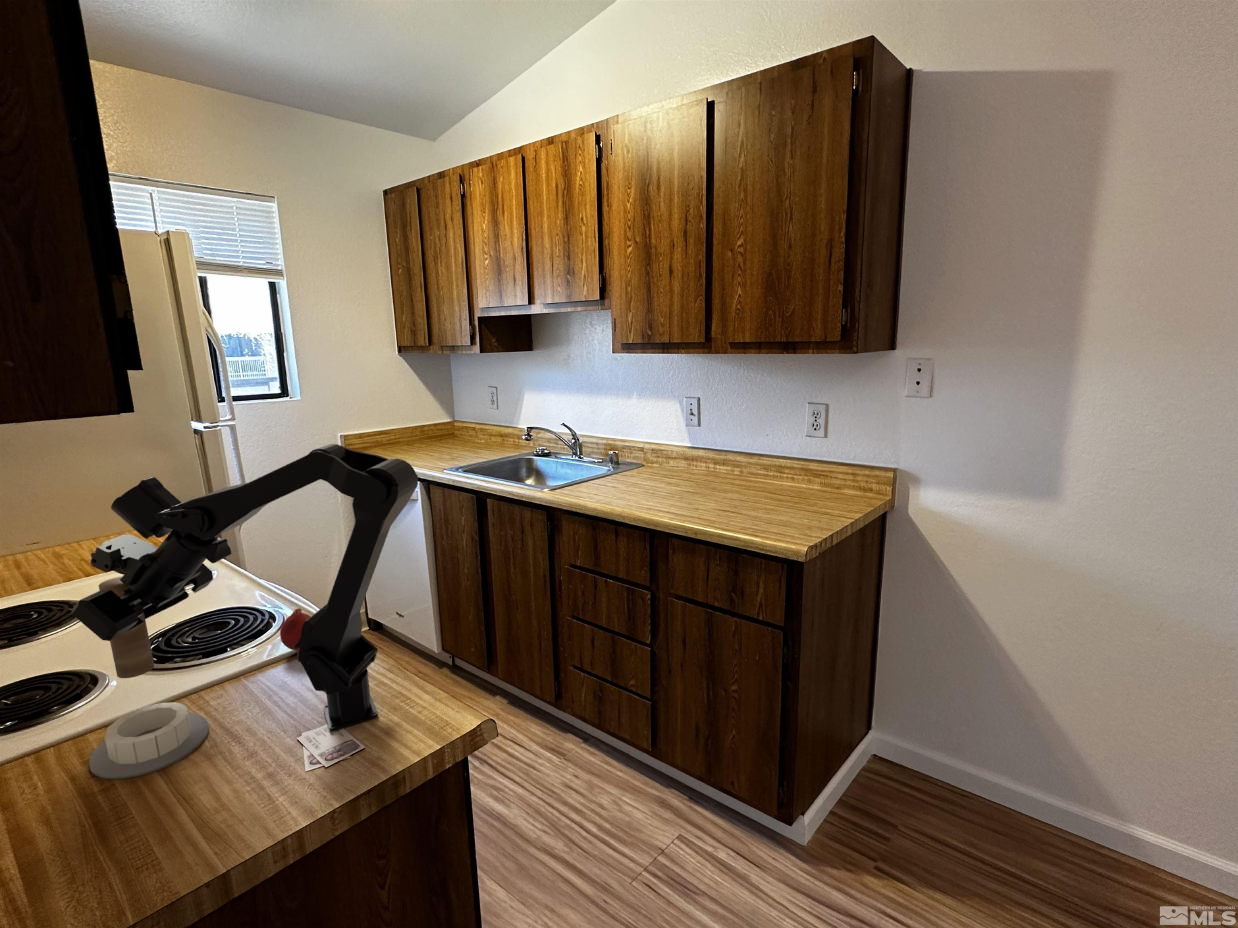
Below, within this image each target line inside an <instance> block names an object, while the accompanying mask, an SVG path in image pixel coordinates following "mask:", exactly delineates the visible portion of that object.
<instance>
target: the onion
mask: <svg viewBox="0 0 1238 928" xmlns="http://www.w3.org/2000/svg"><path fill="white" fill-rule="evenodd" d="M311 616H312V615H310V614H307V613H305V612H302V608H301V607H296V608H295V609H294V610H293V612H292V613H291V614H290V615H288V617H286V619H285V620H284V622H283V623H282V624H281V626H280V630H279V635H280V637H279V638H280V641H281V643H282V644H283V645H284V646H285V647H287V648H288V649H290V650H291V651H295V652H298V650H299V648H295V645H296V644H297V643H298V642H299V640H300V637H301V632H302V627H303V624H304V622H305V621H306V620H307V619H309V618H310V617H311Z"/></svg>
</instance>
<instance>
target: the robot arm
mask: <svg viewBox="0 0 1238 928" xmlns="http://www.w3.org/2000/svg"><path fill="white" fill-rule="evenodd" d="M318 481H323V482H327V483H328V484H329V485H331V486H332V487H333V488H334V489H335V490H336V491H338V492H339V493H340V494H343V495H344V496H348V497H349V498H352V505H351V506H352V511H353V517H354V525H353V528H352V531H351V534H350V537H349V539H348V543H347V545H346V549H345V551H344V555H343V557H342V560H341V563H340V566H339V568H338V571H337V574H336V577H335V580H334V583H333V585H332V589H331V591H330V595H329V597H328V600H327V603H326V604H324V606H322V607H321V608H319V610H317V611H316V612H315V613H314V614H312V615H310V616H311V617H310V618H309V619H307V620H306V621H305V622H304V624H303V627H302V632H301V637H300V640H299V642H298V643H297V644H296V645H295V648H299V650H298V651H297V656H296V657H297V662H298V663H300V664H301V666H302V668H303V669H304V671H305V673H306V675H307V677H308V679H309V681H310V683H311V685H312V686H313V689H314V691H316V692H324V693H325V695H326V702H327V704H325V705H324V706H323V707H322V709H323V712H324V716H325V720H326V724H327V728H328V730H329V731H330V732H333V731H337V730H340V729H343V728H347V727H350V726H353V725H357V724H360V723H362V722H365V721H369V720H372V719H375V718H377V717H378V716H379V713H378V710H377V707H376V705H375V703H374V701H373V698H372V695H371V689H370V682H369V681H370V680H369V672H368V671H369V670H368V668H369V667H370V665H371V664H372V663H374V662H375V660H376V659H377V654H378V651H379V649H378V647H376V646H375V645H374V644H373V643H372V642H371V641H369V639H367V638H366V637H365V636H364V635H363V634H362V632H363V619H362V615H361V609H362V606H363V603H364V600H365V597H366V595H367V592H368V590H369V587H370V584H371V582H372V579H373V575H374V573H375V570H376V567H377V565H378V562H379V559H380V556H381V554H382V551H383V549H384V545H385V543H386V539H387V537H388V534H389V532H390V529H391V526H392V525H393V524H394V523H395V521H396V520H397V518H398V517H399V516H400V514H401V513H402V511H403V510H404V509H405V508H406V506H407V505H408V503H409V501H410V499H411V498H412V496H413V494H414V493H415V491H416V489H417V487H418V484H419V476H418V474H417V472H416V471H415V469H414V467H413V466H412V465H411V464H410V463H409V462H408V461H406V460H404V459H401V458H397V457H396V458H390V459H389V458H386V457H384V456H381V455H379V454H374V453H369V452H365V451H359V450H355V449H351V448H349V447H346V446H344V445H340V444H338V443H330V444H327V445H323V446H320V447H318V448H315V449H312V450H311V451H309V452H308V454H307V455H304V456H302V457H300V458H298V459H296V460H293V461H291V462H289V463H287V464H285V465H283V466H281V467H279V468H277V469H274V470H272V471H271V472H268V473H266V474H263V475H262V476H259V477H257V478H255V479H253V480H251V481H249V482H244V483H239V484H236V485H232V486H227V487H222V488H220V489H218V490H214V491H212V492H210V493H207V494H204V495H201V496H198V497H196V498H192V499H189V500H187V501H184V502H182V501H181V500H180V499H179V498H177V497H176V496H175V495H174V494H173V493H172V492H170V490H168V489H167V488H166V487H165V486H164V485H163V483H162V482H161V481H160V480H159V479H158V478H157V477H155V476H152V477H147V478H145V479H141V481H139V483H138V484H137V485H135V486H133V487H132V488H130V489H129V490H126V492H124V493H122V495H121V496H118V497H116V498H115V500H113V502H112V504H111V505H110V510H112V512H113V513H114V514H116V515H117V516H118V517H120V519H122V520H123V521H124V522H125V523H127V524H128V525H129V526H130V527H131V528H132V529H133V530H134V531H136V533H138V534H139V535H140V536H141V537H142V538H144V539H145V540H144V539H142V538H139V537H137V536H135V535H132V534H122V535H119V536H116V537H114V538H112V539H108V540H106V541H104V542H103V543H102V544H101V545H99V546H97V547H96V549H95V551H94V552H93V551H92V552H91V553H90V557H91V559H90V565H91V566H92V567H93V568H95V569H97V570H100V571H102V572H104V573H109V572H110V573H111V571H113V572H115V573H118V574H120V575H122V576H123V577H122V576H121V577H122V578H121V579H120V581H121V582H122V583H124V584H125V585H126V586H128V585H130V586H131V588H128V589H126V590H124V591H123V592H122V593H123V595H125V596H126V598H124V599H121V598H120V597H119V596H118V595H117V594H115V593H114V592H113V591H112V590H98V591H96V592H94V593H92V594H89V595H87V596H85V597H83V598H81V599H79V600H78V601H77V603H76V604H75V605H74V606H73V608H72V609H71V615H72V616H73V617H74V618H75V619H76V620H78V621H79V622H81V623H82V624H83V625H84V626H85V627H86V628H88V629H89V630H90V631H91V632H92V633H93V634H95V635H96V637H98V638H99V639H100V640H102V641H106V642H110V641H111V640H112V639H114V638H116V637H118V636H120V635H121V634H123V633H125V632H127V631H130V630H131V629H133V628H135V627H137V626H138V625H140V624H142V623H144V621H142V620H141V619H140V618H139V616H141V615H142V614H143V613H144V615H145V620H146V619H150V618H151V617H153V616H155V615H157V614H159V613H161V612H163V611H165V610H167V609H169V608H171V607H173V606H174V607H175V606H176V605H177V604H179V603H182V602H183V601H184V600H186V599H188V598H189V597H190V593H188V592H187V591H186V590H187V588H185V585H186V584H187V583H188V582H189V583H190V584H192V585H193V587H191V589H190V591H192V592H193V593H194V594H196V593H199V592H200V591H202V590H203V589H205V588H206V587H208V586H209V584H210V583H212V581H213V580H214V576H213V575H214V574H213V571H212V570H211V568H209V567H208V566H207V565H205V564H204V562H205V561H206V560H207V561H208V562H210V564H216V563H218V562H220V561H221V560H224V559H225V558H228V557H230V556H231V555H232V550H231V549H232V548H231V547H230V545H229V544H228V539H227V538H221V537H220V535H222V534H225V533H226V532H229V531H231V530H233V529H235V528H238V527H240V526H241V525H243V524H245V523H246V522H247V521H249V520H250V519H252V517H254V516H255V515H257V514H258V513H259V512H260V511H261V510H262V509H263V508H264V507H265V506H267V505H269V503H270V504H271V503H272V502H274V501H277V500H279V499H281V498H283V497H285V496H288V495H290V494H292V493H294V492H296V491H298V490H300V489H303V488H305V487H306V486H309V485H311V484H313V483H317V482H318ZM164 536H166V537H165V539H163V541H162V542H161V543H160V545H159V546H158V547H155V545H154V544H153V543H150V542H148V541H146V540H147V539H149V538H152V537H154V538H157V539H160V538H162V537H164Z"/></svg>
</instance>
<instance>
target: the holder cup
mask: <svg viewBox="0 0 1238 928" xmlns="http://www.w3.org/2000/svg"><path fill="white" fill-rule="evenodd" d="M188 709H189V708H188V707H187V706H186V705H185V704H183V703H180V702H175V701H174V702H161V703H160V702H159V703H156V704H151V705H147V706H143V707H141V708H138V709H136V710H133V711H130V712H129V713H127V714H125V715H122V716H121V717H119V718H117V720H115V721H114V722H113V723H112V724H110V725H109V726H108V727H107V729H106V732H105V735H104V741H102V742H101V743H100V744H98V746H97V747H96V748H95V749H94V750H93V752H92V754H91V755H90V757H89V761H88V764H89V765H88V766H89V769H90V770H89V771H90V772H91V774H92V775H94V776H95V777H98V778H99V779H100V778H101V779H104V780H105V779H106V780H124V779H125V780H126V779H133V778H136V777H141V776H144V775H147V774H150V773H154V772H157V771H159V770H162V769H165V768H166V767H169V766H171V765H173V764H174V763H177V762H179V761H181V760H182V759H184V758H185V757H187V756H189V755H190V754H191V753H193V752H194V751H196V750H197V748H199V747H200V746H201V745H202V744H203V742H204V741H205V740H206V739H207V737H208V734H209V731H210V727H209V722H208V720H207V719H206V717H204V716H202V714H201V715H200V714H198V713H193V712H189V710H188Z"/></svg>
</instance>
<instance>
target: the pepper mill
mask: <svg viewBox="0 0 1238 928" xmlns="http://www.w3.org/2000/svg"><path fill="white" fill-rule="evenodd" d="M122 577H123V575H122V576H116V577H113V578H109V579H107V580H104V581H102V582H100V583H99V584H98V591H100V590H112V591H113V592H114V593H115V594H117V595H118V596H119V597H120V598H121V599H124V598H126V596H125V595H123V593H122V592H123V591H124V590H126V589H128V588H131V586H130V585H128V586H126V585H125V584H124V583H122V582H121V581H120V579H121V578H122ZM139 618H140V619H141V620H142V621H144V623H142V624H140V625H138V626H137V627H135V628H133V629H131V630H130V631H127V632H125V633H123V634H121V635H120V636H118V637H116V638H114V639H112V640H111V641H109V643H110V647H111V651H112V653H111V654H112V659H113V663H114V667H115V672H116V677H117V678H119V679H132V678H136V677H140V676H142V675H144V674H146V673H148V672H150V671H151V670H153V669H154V667H155V663H154V662H155V661H154V658H153V653H152V647H151V643H150V636H149V632H148V627H147V621H146V619H145V615H144V613H143V614H142V615H141V616H139Z"/></svg>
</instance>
